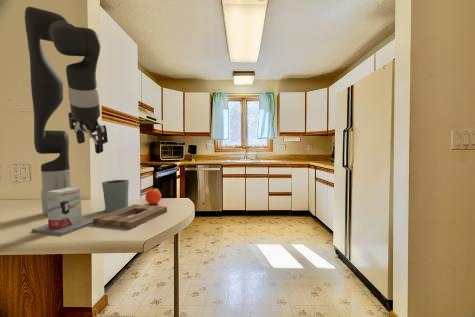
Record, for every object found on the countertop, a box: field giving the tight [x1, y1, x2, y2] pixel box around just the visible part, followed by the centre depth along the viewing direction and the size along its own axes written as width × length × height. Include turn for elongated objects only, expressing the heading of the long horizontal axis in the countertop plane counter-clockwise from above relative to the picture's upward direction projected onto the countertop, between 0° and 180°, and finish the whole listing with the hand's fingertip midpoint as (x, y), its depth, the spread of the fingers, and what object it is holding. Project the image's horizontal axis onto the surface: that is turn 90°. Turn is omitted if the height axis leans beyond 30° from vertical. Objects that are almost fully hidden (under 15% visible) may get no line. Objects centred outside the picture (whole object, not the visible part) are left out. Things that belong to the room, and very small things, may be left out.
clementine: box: [144, 188, 163, 205], centre depth 111 cm, size 8×7×7 cm
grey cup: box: [101, 179, 130, 213], centre depth 102 cm, size 10×10×12 cm
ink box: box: [46, 187, 83, 229], centre depth 81 cm, size 9×5×12 cm, turn 167°
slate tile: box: [31, 217, 94, 236], centre depth 81 cm, size 13×13×1 cm
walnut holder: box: [92, 203, 168, 229], centre depth 90 cm, size 16×20×2 cm
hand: (90, 147), depth 81 cm, fingers open, 8 cm apart
